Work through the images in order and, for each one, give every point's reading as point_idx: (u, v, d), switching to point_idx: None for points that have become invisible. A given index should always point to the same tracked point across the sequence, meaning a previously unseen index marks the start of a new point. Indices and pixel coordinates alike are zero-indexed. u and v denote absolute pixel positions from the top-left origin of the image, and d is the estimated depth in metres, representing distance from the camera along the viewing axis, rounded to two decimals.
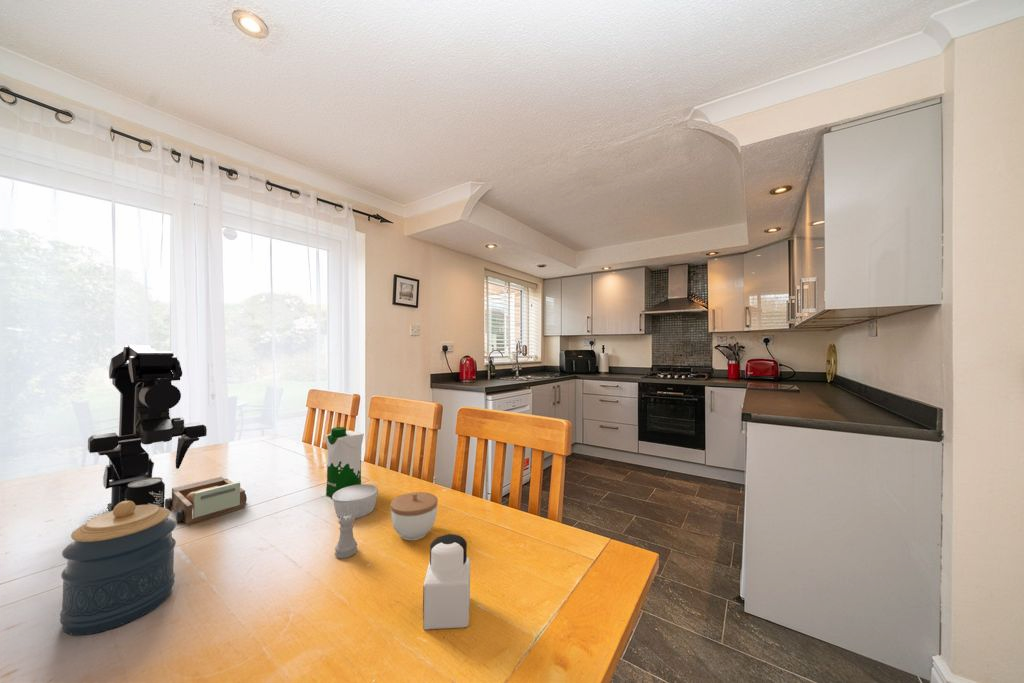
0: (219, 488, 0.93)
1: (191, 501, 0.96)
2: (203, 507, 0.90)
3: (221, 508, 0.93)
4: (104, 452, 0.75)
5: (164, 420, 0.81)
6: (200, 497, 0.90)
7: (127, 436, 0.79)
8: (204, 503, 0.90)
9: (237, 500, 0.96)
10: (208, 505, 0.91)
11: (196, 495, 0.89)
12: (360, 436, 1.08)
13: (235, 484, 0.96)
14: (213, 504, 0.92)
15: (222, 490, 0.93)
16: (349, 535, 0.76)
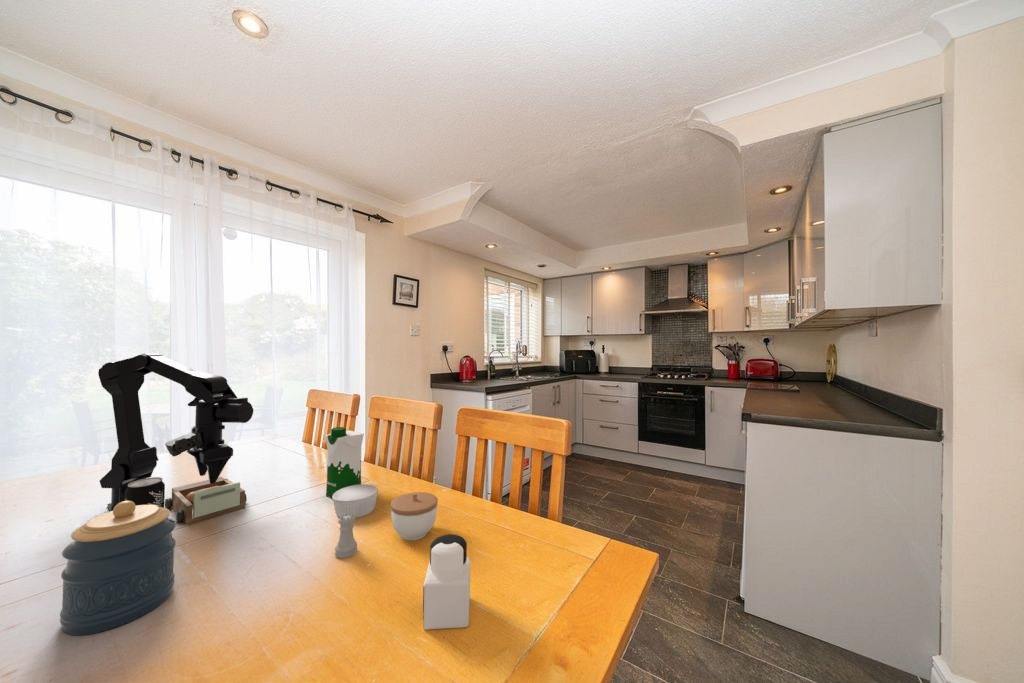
0: (219, 488, 0.93)
1: (191, 501, 0.96)
2: (203, 507, 0.90)
3: (221, 508, 0.93)
4: (188, 451, 1.00)
5: (187, 437, 0.94)
6: (200, 497, 0.90)
7: None
8: (204, 503, 0.90)
9: (237, 500, 0.96)
10: (208, 505, 0.91)
11: (196, 495, 0.89)
12: (360, 436, 1.08)
13: (235, 484, 0.96)
14: (213, 504, 0.92)
15: (222, 490, 0.93)
16: (349, 535, 0.76)
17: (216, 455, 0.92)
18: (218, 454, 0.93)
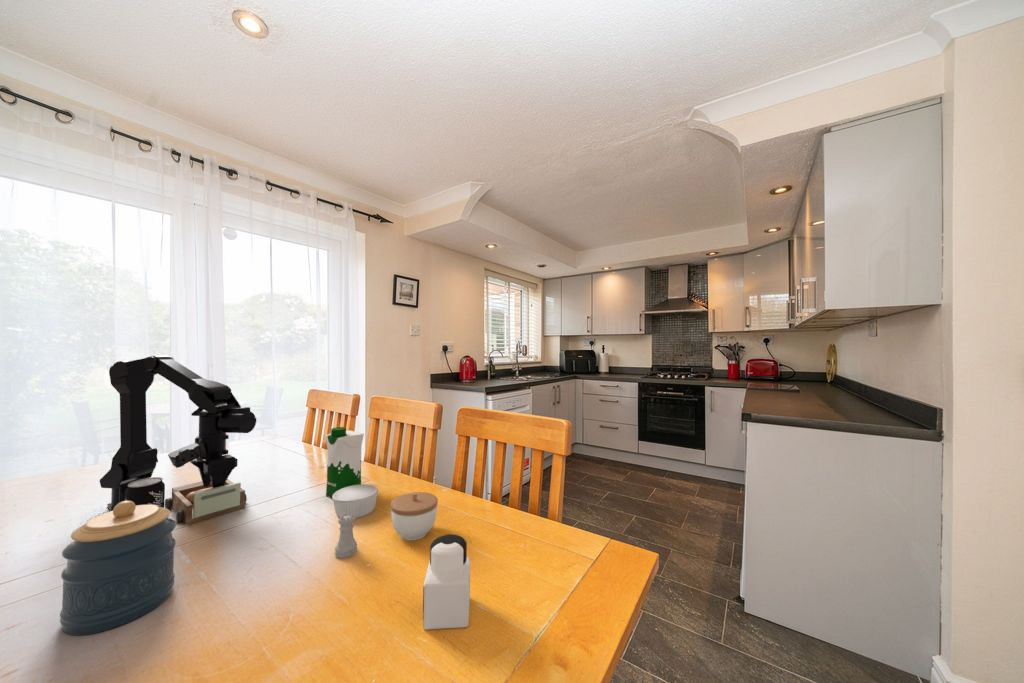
0: (219, 488, 0.93)
1: (191, 501, 0.96)
2: (203, 507, 0.90)
3: (221, 508, 0.93)
4: (192, 461, 0.99)
5: (191, 447, 0.92)
6: (200, 497, 0.90)
7: None
8: (204, 503, 0.90)
9: (237, 500, 0.96)
10: (208, 505, 0.91)
11: (196, 495, 0.89)
12: (360, 436, 1.08)
13: (235, 484, 0.95)
14: (213, 504, 0.92)
15: (222, 490, 0.93)
16: (349, 535, 0.76)
17: (220, 466, 0.91)
18: (222, 465, 0.91)
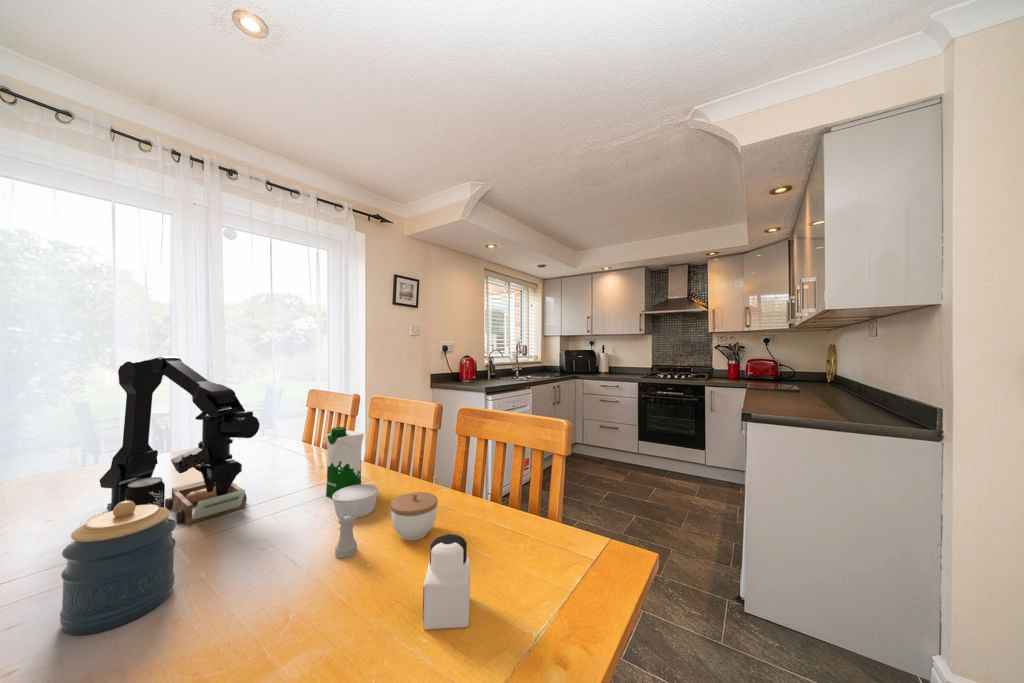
0: (224, 498, 0.91)
1: (191, 501, 0.96)
2: (204, 512, 0.89)
3: (221, 510, 0.93)
4: (195, 466, 0.97)
5: (194, 452, 0.90)
6: (203, 506, 0.88)
7: None
8: (206, 509, 0.89)
9: (238, 504, 0.95)
10: (210, 510, 0.90)
11: (200, 505, 0.87)
12: (360, 436, 1.08)
13: (240, 494, 0.93)
14: (215, 509, 0.91)
15: (226, 499, 0.91)
16: (349, 535, 0.76)
17: (224, 471, 0.88)
18: (226, 470, 0.89)
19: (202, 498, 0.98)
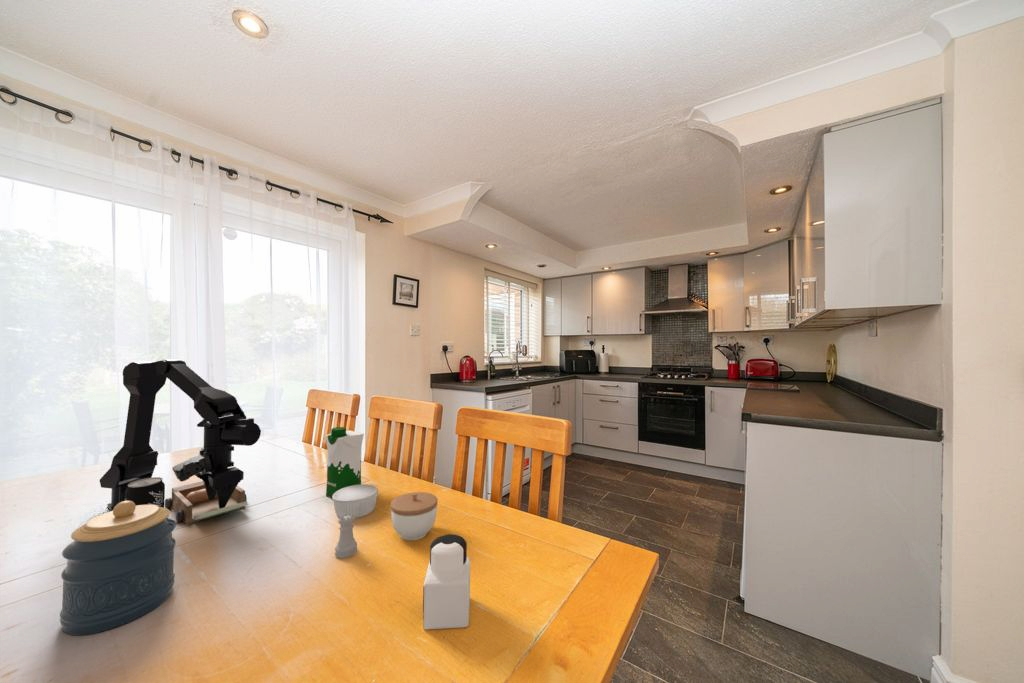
0: (225, 511, 0.90)
1: (191, 501, 0.96)
2: None
3: None
4: (197, 474, 0.96)
5: (195, 460, 0.89)
6: (205, 517, 0.87)
7: None
8: None
9: None
10: None
11: None
12: (360, 436, 1.08)
13: None
14: None
15: (228, 510, 0.91)
16: (349, 535, 0.76)
17: (226, 479, 0.88)
18: (228, 478, 0.88)
19: (202, 498, 0.98)
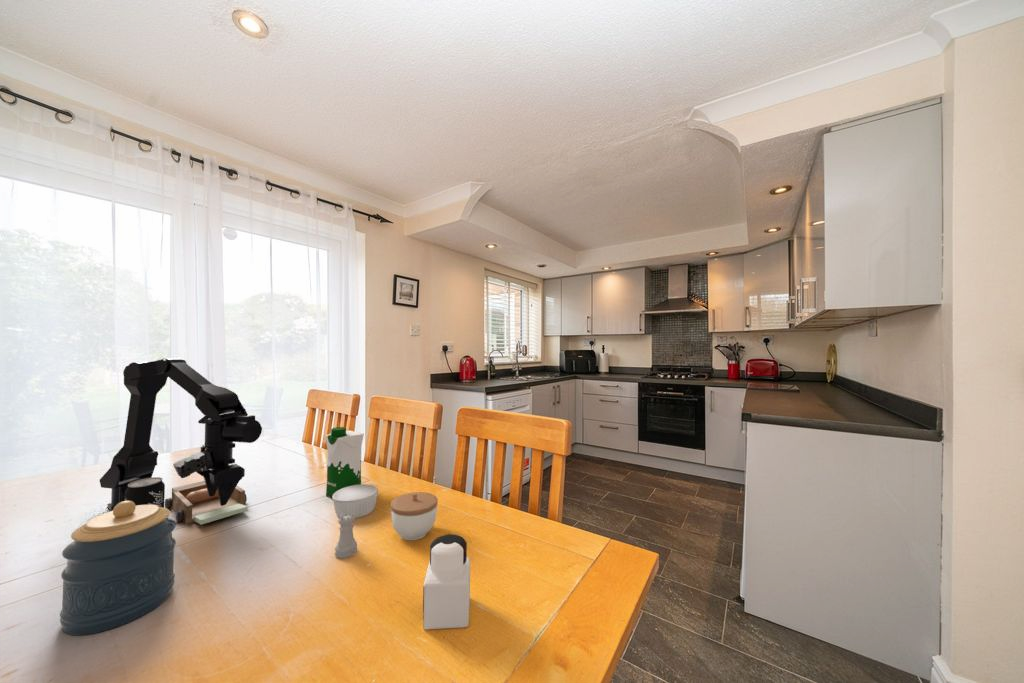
0: (226, 516, 0.90)
1: (191, 501, 0.96)
2: None
3: None
4: (197, 470, 0.96)
5: (197, 457, 0.89)
6: None
7: None
8: None
9: None
10: None
11: None
12: (360, 436, 1.08)
13: (242, 511, 0.92)
14: None
15: (228, 515, 0.90)
16: (349, 535, 0.76)
17: (227, 476, 0.87)
18: (229, 475, 0.88)
19: (202, 498, 0.98)
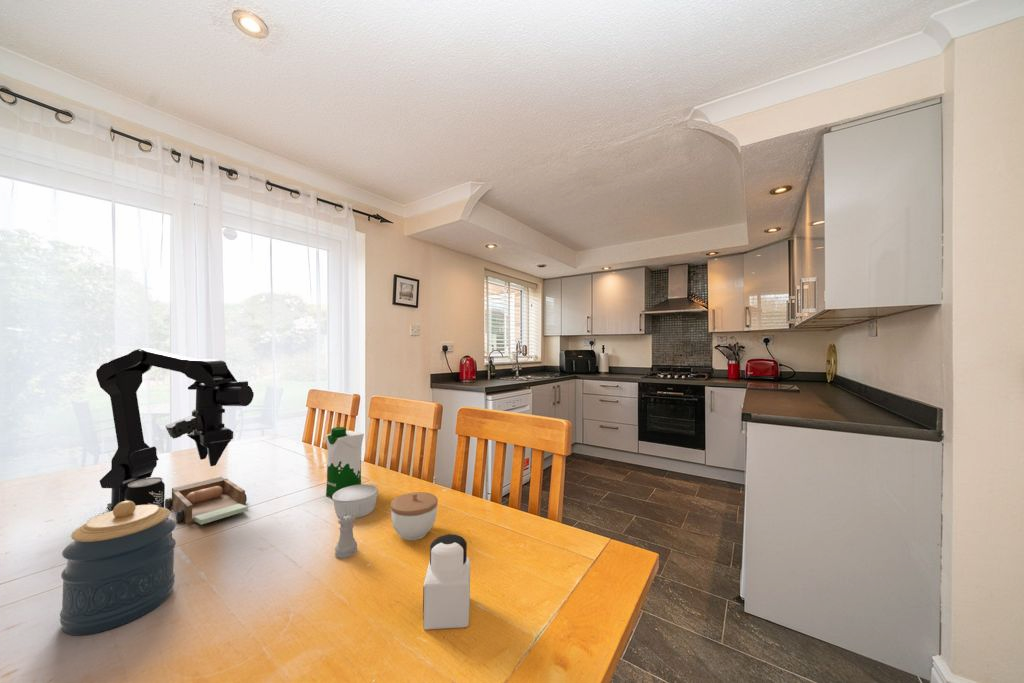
0: (226, 516, 0.90)
1: (191, 501, 0.96)
2: None
3: None
4: (189, 434, 1.01)
5: (188, 419, 0.94)
6: None
7: None
8: None
9: None
10: None
11: None
12: (360, 436, 1.08)
13: (242, 511, 0.92)
14: None
15: (228, 515, 0.90)
16: (349, 535, 0.76)
17: (216, 437, 0.93)
18: (218, 436, 0.93)
19: (202, 498, 0.98)
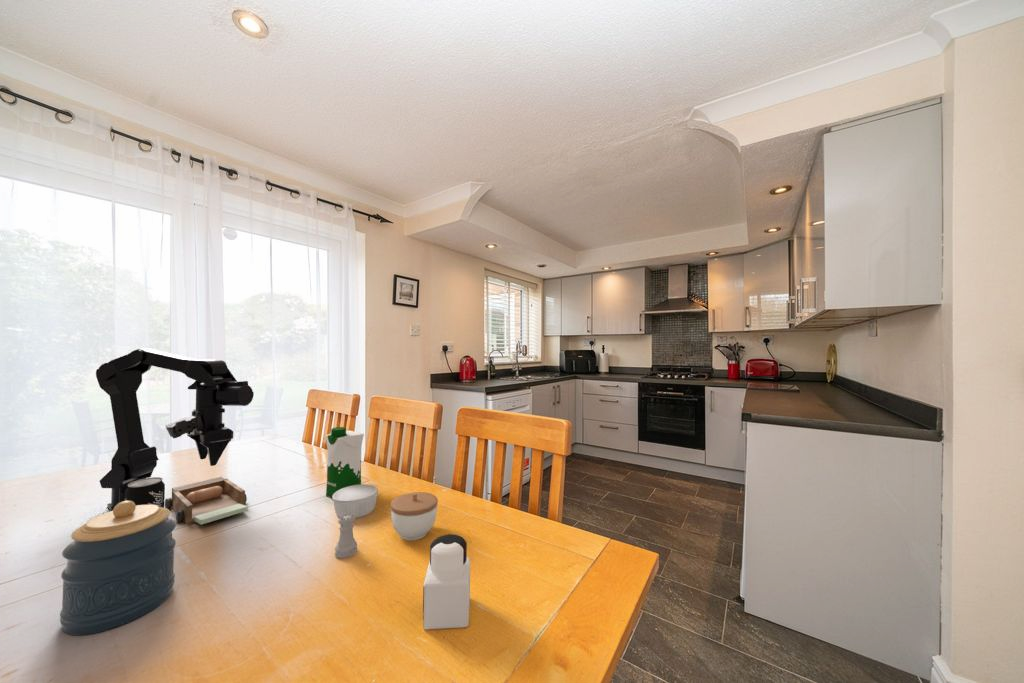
0: (226, 516, 0.90)
1: (191, 501, 0.96)
2: None
3: None
4: (189, 434, 1.01)
5: (188, 419, 0.94)
6: None
7: None
8: None
9: None
10: None
11: None
12: (360, 436, 1.08)
13: (242, 511, 0.92)
14: None
15: (228, 515, 0.90)
16: (349, 535, 0.76)
17: (216, 437, 0.93)
18: (218, 436, 0.93)
19: (202, 498, 0.98)
